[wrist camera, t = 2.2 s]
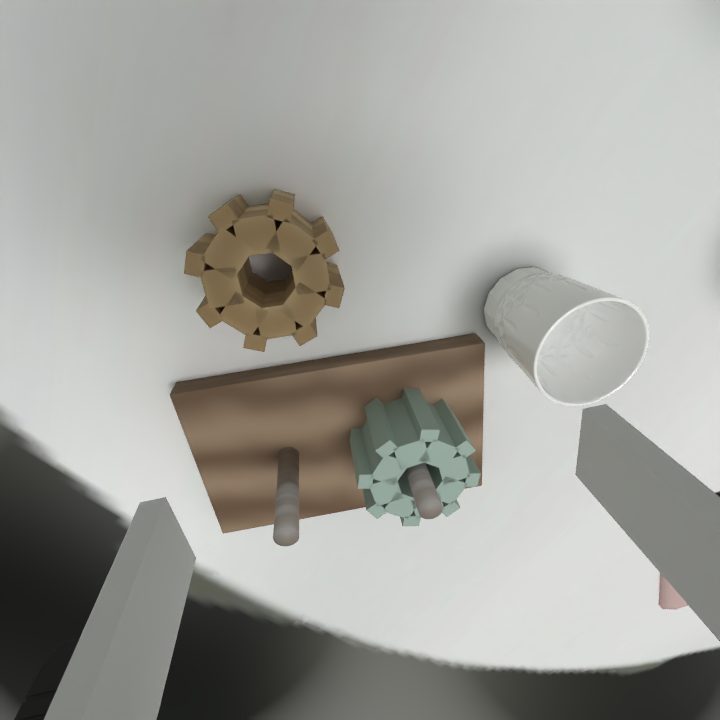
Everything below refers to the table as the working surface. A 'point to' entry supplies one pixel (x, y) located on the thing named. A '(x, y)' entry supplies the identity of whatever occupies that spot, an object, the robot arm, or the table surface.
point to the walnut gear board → (317, 429)
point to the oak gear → (251, 292)
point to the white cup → (567, 334)
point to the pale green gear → (411, 454)
